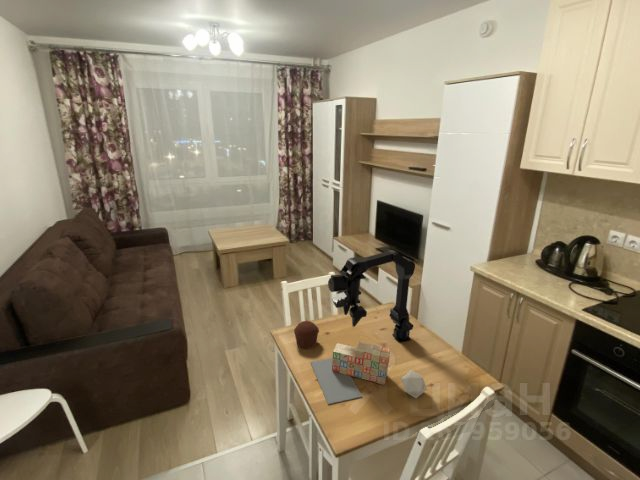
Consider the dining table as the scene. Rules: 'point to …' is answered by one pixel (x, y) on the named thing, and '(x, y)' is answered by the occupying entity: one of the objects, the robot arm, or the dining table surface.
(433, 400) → the dining table surface
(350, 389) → the mat
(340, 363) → the stack of blocks
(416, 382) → the die
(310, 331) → the muffin
